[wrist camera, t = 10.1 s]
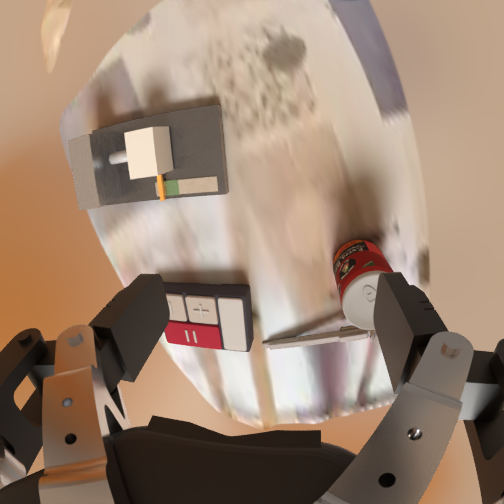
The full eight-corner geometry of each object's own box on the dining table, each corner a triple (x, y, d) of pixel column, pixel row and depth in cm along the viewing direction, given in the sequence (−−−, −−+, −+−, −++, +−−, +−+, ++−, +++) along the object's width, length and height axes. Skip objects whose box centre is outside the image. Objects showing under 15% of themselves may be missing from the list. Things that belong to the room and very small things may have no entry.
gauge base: (98, 130, 38) (67, 133, 31) (220, 105, 35) (204, 100, 28) (108, 203, 43) (80, 217, 36) (228, 191, 40) (214, 205, 33)
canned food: (356, 227, 39) (375, 260, 29) (392, 260, 40) (417, 298, 30) (320, 265, 42) (327, 307, 32) (358, 295, 43) (372, 340, 33)
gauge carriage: (119, 136, 37) (99, 139, 32) (168, 126, 35) (152, 126, 31) (128, 202, 40) (110, 212, 36) (177, 198, 39) (162, 207, 35)
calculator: (151, 291, 44) (244, 298, 41) (162, 279, 48) (250, 283, 45) (165, 345, 49) (249, 355, 46) (174, 331, 52) (253, 339, 50)
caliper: (378, 309, 44) (387, 333, 39) (379, 314, 45) (388, 338, 39) (262, 341, 50) (258, 366, 44) (264, 346, 50) (260, 371, 44)
